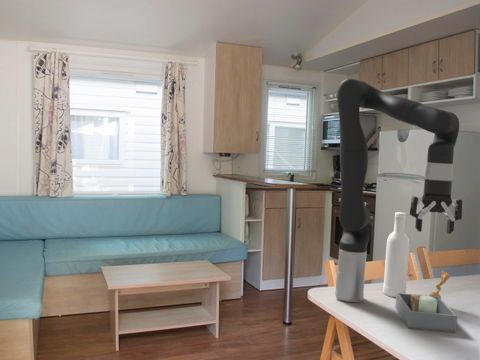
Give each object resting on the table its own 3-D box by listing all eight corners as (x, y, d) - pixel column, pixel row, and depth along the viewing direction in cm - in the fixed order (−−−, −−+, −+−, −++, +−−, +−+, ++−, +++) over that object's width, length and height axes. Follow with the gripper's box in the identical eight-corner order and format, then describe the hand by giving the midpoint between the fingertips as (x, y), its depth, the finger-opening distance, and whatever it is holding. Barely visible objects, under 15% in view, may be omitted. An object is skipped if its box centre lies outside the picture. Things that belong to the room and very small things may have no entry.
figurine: (430, 299, 158) (433, 266, 157) (449, 303, 155) (452, 269, 154) (425, 305, 151) (428, 270, 150) (444, 309, 148) (447, 274, 147)
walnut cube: (409, 308, 145) (411, 293, 145) (425, 310, 145) (426, 295, 144) (414, 314, 140) (415, 299, 140) (430, 315, 140) (431, 300, 139)
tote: (408, 328, 130) (409, 311, 130) (395, 307, 147) (396, 292, 147) (455, 332, 129) (456, 316, 128) (436, 311, 146) (438, 296, 145)
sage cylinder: (420, 323, 133) (422, 301, 132) (415, 316, 138) (417, 295, 137) (437, 325, 132) (440, 302, 132) (431, 318, 137) (433, 296, 137)
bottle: (408, 298, 157) (415, 215, 155) (386, 297, 157) (393, 213, 155) (401, 291, 165) (407, 211, 163) (380, 290, 165) (386, 210, 163)
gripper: (459, 179, 135) (454, 231, 136) (410, 176, 136) (406, 228, 138) (468, 180, 127) (463, 236, 128) (416, 177, 129) (412, 232, 130)
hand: (433, 232), depth 133 cm, fingers open, 8 cm apart
